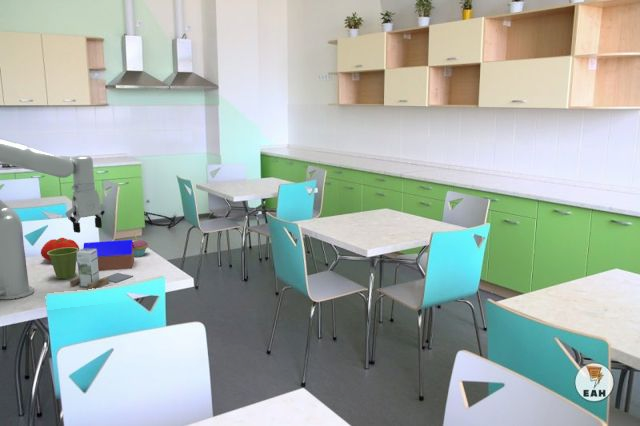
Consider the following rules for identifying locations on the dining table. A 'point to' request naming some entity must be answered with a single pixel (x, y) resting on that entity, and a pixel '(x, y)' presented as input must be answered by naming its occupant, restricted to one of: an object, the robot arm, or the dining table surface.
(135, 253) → the cupcake
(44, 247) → the tomato
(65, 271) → the plant pot
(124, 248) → the house
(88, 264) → the syrup box
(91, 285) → the rails
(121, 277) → the pad
